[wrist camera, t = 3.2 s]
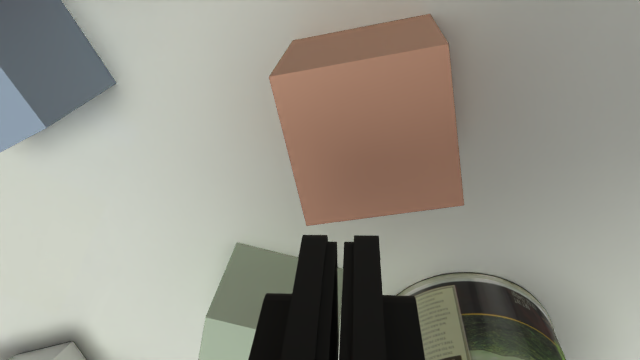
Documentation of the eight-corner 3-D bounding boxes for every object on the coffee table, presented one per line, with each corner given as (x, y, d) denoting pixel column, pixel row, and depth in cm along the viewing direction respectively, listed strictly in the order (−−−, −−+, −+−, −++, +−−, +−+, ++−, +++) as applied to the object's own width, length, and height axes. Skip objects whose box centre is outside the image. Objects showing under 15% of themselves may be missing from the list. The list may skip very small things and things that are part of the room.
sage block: (344, 268, 28) (337, 349, 23) (319, 346, 31) (308, 434, 26) (237, 241, 28) (205, 317, 23) (221, 322, 31) (190, 406, 25)
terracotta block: (429, 13, 22) (448, 43, 17) (443, 142, 24) (464, 205, 19) (292, 40, 23) (268, 77, 18) (320, 161, 25) (306, 225, 20)
